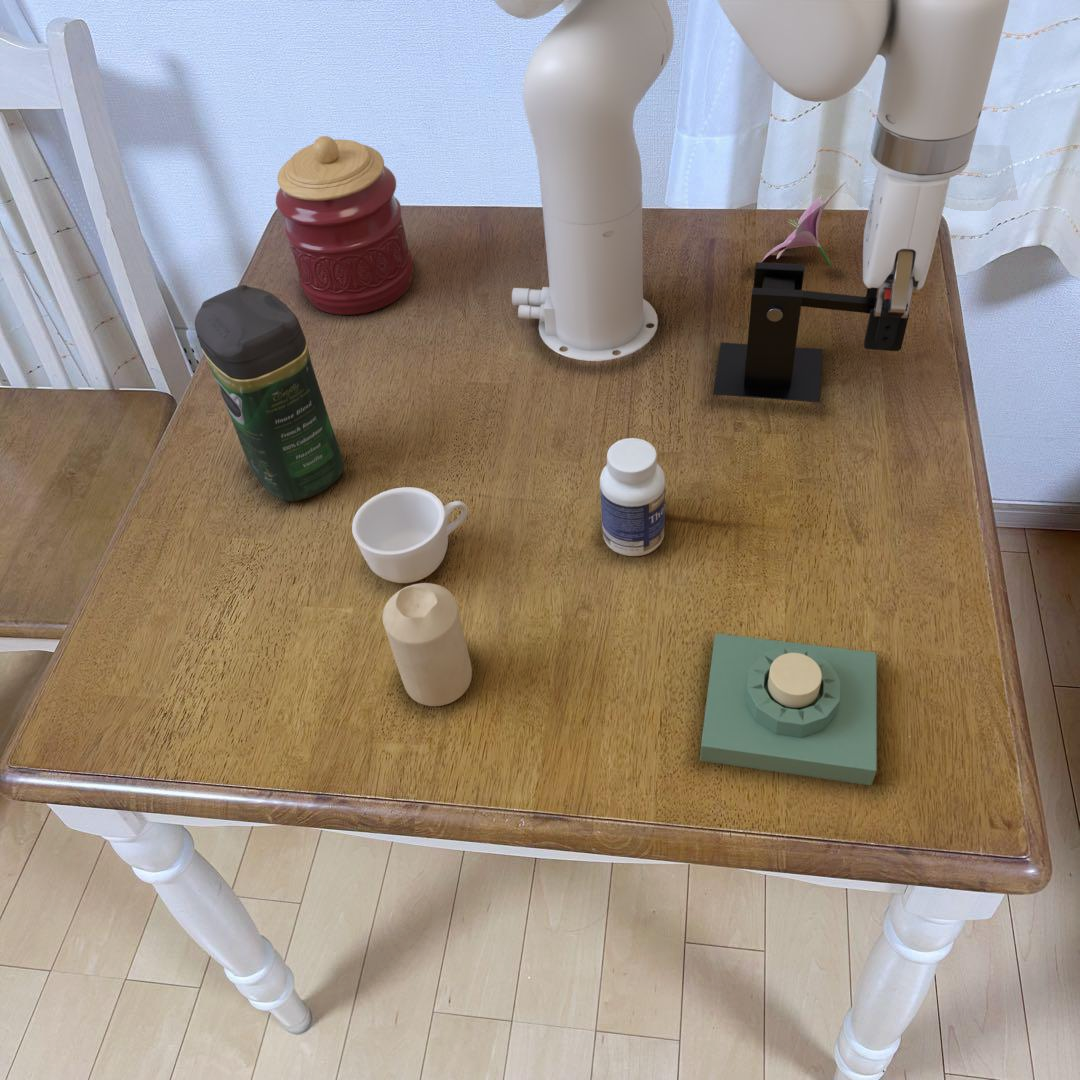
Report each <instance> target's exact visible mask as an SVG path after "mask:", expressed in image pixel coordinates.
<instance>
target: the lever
mask: <svg viewBox="0 0 1080 1080" xmlns="http://www.w3.org/2000/svg"><path fill="white" fill-rule="evenodd" d="M794 286H795V279H786V278H776V277H767V276H764V279H763V285H762V288H769V289H787V290H795V289H794ZM802 290H803V289H802ZM890 296H891V290H890V289H885V294H884V300H885V299H889V298H890ZM884 300H883V302H884ZM875 302H876V298H872V297H866V296H862V295H861V296H860V295H851V294H841V293H832V292H823V291H813V290H803V295H802V303H801V307H804V308H813V309H814V308H815V309H823V310H832V311H833V310H834V311H841V312H851V313H860V314H870V311H871V309H874V308H875Z"/></svg>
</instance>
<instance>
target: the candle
mask: <svg viewBox="0 0 1080 1080" xmlns="http://www.w3.org/2000/svg"><path fill="white" fill-rule="evenodd" d="M382 623H383V628H384V631H385V633H386V636H387V639H388V642H389V646H390V648H391V651H392V655H393V658H394V661H395V664H396V666H397V669H398V673H399V675H400V678H401V682H402V684H403V687H404V689H405V691H406V693H407V695H408V696H409V697H410V698H411V699H412V700H413V701H414V702H416V703H418V704H420V705H423V706H427V707H441V706H445V705H446V706H447V705H449V704H451V703H453V702H456V701H457V700H458V699H459V698H461V697H462V696H463V695H464V694H465V693H466V692H467V690H468V688H469V687H470V685H471V682H472V678H473V667H472V662H471V658H470V654H469V650H468V645H467V641H466V637H465V631H464V629H463V624H462V619H461V615H460V610H459V607H458V603H457V600H456V598H455V596H454V595H453V593H451V591H450V590H449V589H447V588H445V586H441V585H440V584H437V583H432V582H419V583H414V584H410V585H407V586H405V587H402V588H401V589H399V590H398V591H396V592H395V593H394V594H393V595H392V596H391V597H390V598H389V599H388V600H387V602H386V604H385V605H384V607H383V611H382Z"/></svg>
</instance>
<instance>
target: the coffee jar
mask: <svg viewBox="0 0 1080 1080" xmlns="http://www.w3.org/2000/svg"><path fill="white" fill-rule="evenodd" d="M194 329H195V333H196V338H197V339H198V343H199V346H200V348H201V350H202V353H203V355H204V357H205V360H206V361H207V363H208V366H209V368H210V370H211V373H212V375H213V377H214V379H215V382H216V384H217V387H218V389H219V392H220V394H221V396H222V399H223V401H224V404H225V407H226V410H227V412H228V415H229V418H230V420H231V422H232V424H233V427H234V430H235V432H236V435H237V438H238V440H239V443H240V445H241V449H242V451H243V453H244V456H245V458H246V461H247V464H248V466H249V468H250V470H251V472H252V474H253V476H254V477H255V478H256V480H257V481H258V482H259V483H260V485H261V486H262V487H263V488H264V489H265V490H266V491H267V492H268V493H270V494H271V495H272V497H275V498H276V499H278V500H280V501H283V502H296V501H297V502H298V501H302V500H304V499H307V498H311V497H313V496H315V495H317V494H320V493H322V492H323V491H324V490H327V489H328V488H330V487H331V486H332V485H333V484H334V483H335V482H336V481H337V480H338V479H339V478H340V477H341V476H342V474H343V471H344V468H345V464H344V460H343V456H342V452H341V449H340V447H339V444H338V443H339V442H338V440H337V438H336V435H335V432H334V429H333V426H332V422H331V420H330V417H329V414H328V411H327V407H326V404H325V400H324V398H323V394H322V391H321V389H320V385H319V383H318V379H317V376H316V373H315V370H314V366H313V363H312V360H311V355H310V349H309V345H308V341H307V338H306V336H305V333H304V331H303V328H302V326H301V324H300V321H299V319H298V317H297V315H296V314H295V312H293V311H292V310H291V308H289V306H287V304H286V303H285V302H283V300H281V299H279V297H277V296H276V295H274V294H273V293H272V292H269V291H267V290H264V289H262V288H257V287H253V286H248V285H245V284H241V285H238V286H235V287H233V288H230V289H228V290H225V291H224V292H221V293H219V294H216V295H214V296H212V297H210V298H208V299H206V300H204V301H203V302H202V303H201V306H200V308H199V309H198V311H197V313H196V315H195V319H194Z"/></svg>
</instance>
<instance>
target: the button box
mask: <svg viewBox="0 0 1080 1080" xmlns="http://www.w3.org/2000/svg"><path fill="white" fill-rule="evenodd" d="M786 653H800V654H804V655H806V656H808V657H810V658H812V659H813V660H814V661H815V662H816V663H817V664H818V666H819V667H820V669H821V673H822V681H821V685H820V689H819V694H818V696H817V698H816V699H815V701H814V702H812V703H811V704H810V705H808V706H805V707H801V708H791V707H787V706H784V705H782V704H780V703H778V702H777V701H776V700H775V699H774V698H773V697H772V696H771V694H770V692H769V689H768V679H769V672H770V667H771V664H772V663H773V661H774V660H775V659H776V658H778V657H779V656H781V655H783V654H786ZM877 653H878V652H874V651H866V650H858V649H849V648H841V647H835V646H834V647H833V646H824V645H816V644H809V643H800V642H791V641H783V640H775V639H767V638H758V637H752V636H743V635H734V634H726V633H717V632H716V633H714V636H713V646H712V654H711V661H710V670H709V678H708V684H707V685H708V687H707V693H706V694H707V695H706V703H705V711H704V718H703V726H702V735H701V742H700V752H699V753H700V756H699V760H700V761H701V762H706V763H713V764H719V765H727V766H728V765H729V766H735V767H741V768H748V769H753V770H754V769H755V770H761V771H769V772H776V773H782V774H788V775H796V776H803V777H808V778H809V777H810V778H817V779H822V780H823V779H824V780H829V781H838V782H842V783H843V782H844V783H851V784H858V785H865V786H872V785H873V783H874V780H875V777H876V774H877V771H878V769H877V768H878V723H877V722H878V710H877V709H878V698H877V697H878V695H877V693H878V692H877V691H878V690H877V689H878V687H877V685H878V683H877V681H878V675H877V674H878V673H877V672H878V670H877V669H878V668H877V666H878V663H877V661H878V660H877V659H878V658H877V657H878V656H877V655H878V654H877Z"/></svg>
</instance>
